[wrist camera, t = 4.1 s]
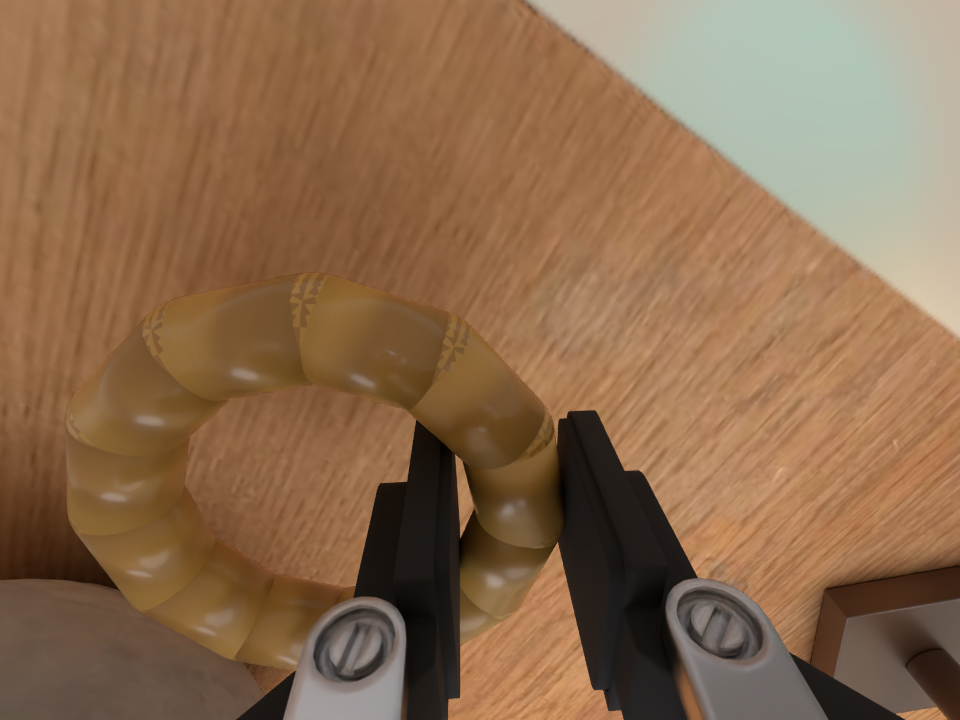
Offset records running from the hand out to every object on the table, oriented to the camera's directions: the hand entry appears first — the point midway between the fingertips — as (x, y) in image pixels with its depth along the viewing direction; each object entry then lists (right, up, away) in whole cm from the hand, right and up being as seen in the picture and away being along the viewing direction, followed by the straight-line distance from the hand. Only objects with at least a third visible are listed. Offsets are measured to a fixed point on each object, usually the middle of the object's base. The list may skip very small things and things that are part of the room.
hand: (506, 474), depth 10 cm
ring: (-4, 0, -1) cm, 4 cm away
